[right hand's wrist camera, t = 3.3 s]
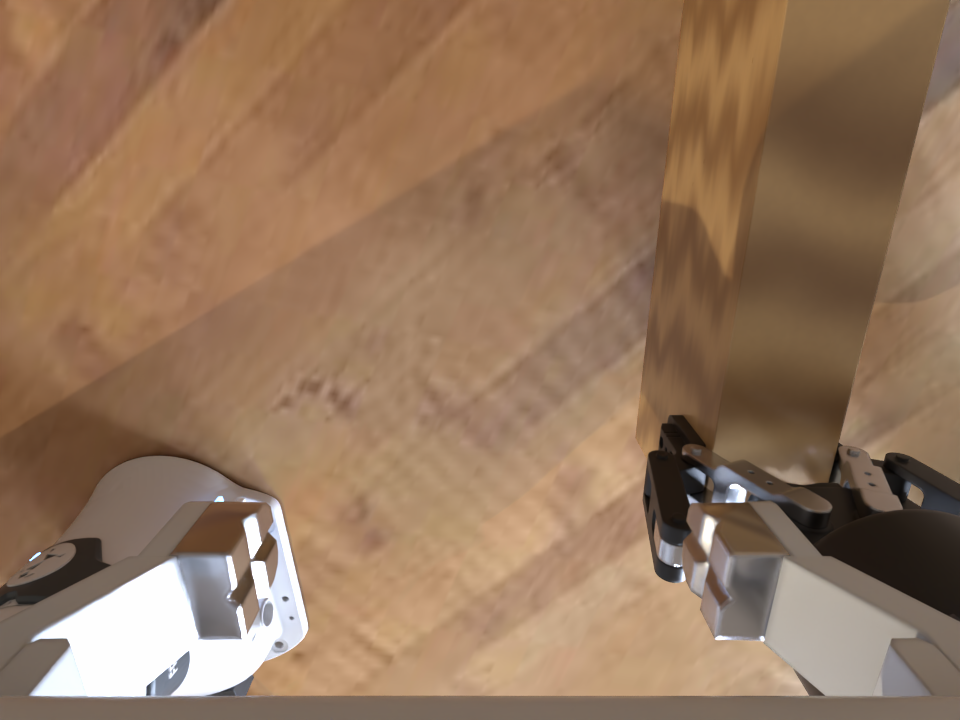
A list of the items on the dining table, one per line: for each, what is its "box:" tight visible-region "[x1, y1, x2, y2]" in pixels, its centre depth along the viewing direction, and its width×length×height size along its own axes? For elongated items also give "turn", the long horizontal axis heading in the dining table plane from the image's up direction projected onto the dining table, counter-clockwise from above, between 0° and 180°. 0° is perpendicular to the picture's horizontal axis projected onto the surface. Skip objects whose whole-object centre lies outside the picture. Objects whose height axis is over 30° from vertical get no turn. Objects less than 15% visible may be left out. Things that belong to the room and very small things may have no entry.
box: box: [635, 0, 950, 502], centre depth 28 cm, size 28×6×12 cm, turn 0°
